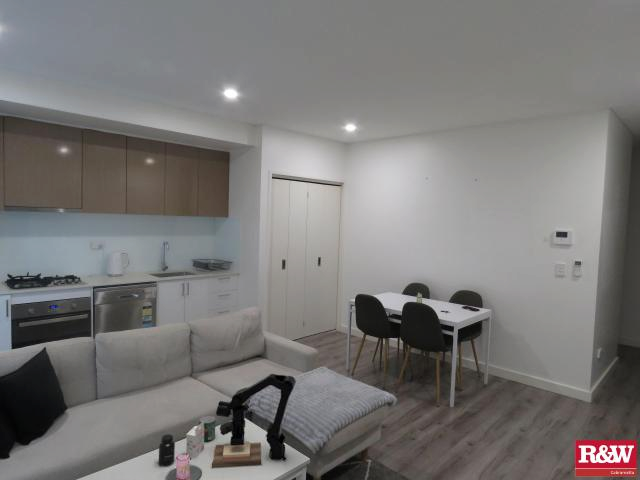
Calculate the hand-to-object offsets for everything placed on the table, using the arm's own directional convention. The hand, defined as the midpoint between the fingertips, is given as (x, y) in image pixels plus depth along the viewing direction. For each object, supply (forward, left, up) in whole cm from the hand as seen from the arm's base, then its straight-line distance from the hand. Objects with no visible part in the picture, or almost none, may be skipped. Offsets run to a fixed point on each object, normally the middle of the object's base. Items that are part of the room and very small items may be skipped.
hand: (237, 448), depth 196 cm
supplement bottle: (+31, -7, -2) cm, 32 cm away
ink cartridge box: (+18, -8, -2) cm, 20 cm away
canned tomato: (+10, -18, -2) cm, 21 cm away
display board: (+1, +3, -2) cm, 4 cm away
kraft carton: (+2, +6, -1) cm, 7 cm away
